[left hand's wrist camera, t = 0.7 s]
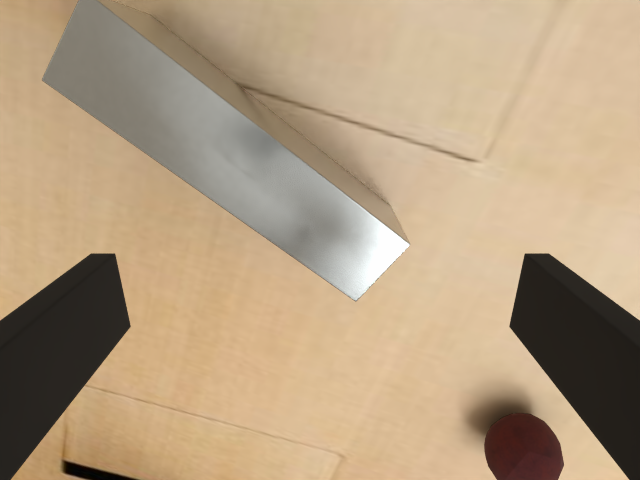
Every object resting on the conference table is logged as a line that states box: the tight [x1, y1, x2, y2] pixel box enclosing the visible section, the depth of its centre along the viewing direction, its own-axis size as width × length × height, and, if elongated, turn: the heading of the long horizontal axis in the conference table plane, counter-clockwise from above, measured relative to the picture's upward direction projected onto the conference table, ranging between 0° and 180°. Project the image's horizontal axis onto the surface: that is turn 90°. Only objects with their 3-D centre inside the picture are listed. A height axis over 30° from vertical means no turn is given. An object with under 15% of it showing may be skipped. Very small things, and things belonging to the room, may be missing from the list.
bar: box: [42, 0, 410, 301], centre depth 29 cm, size 24×6×9 cm, turn 52°
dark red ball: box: [484, 413, 564, 480], centre depth 41 cm, size 7×8×7 cm
